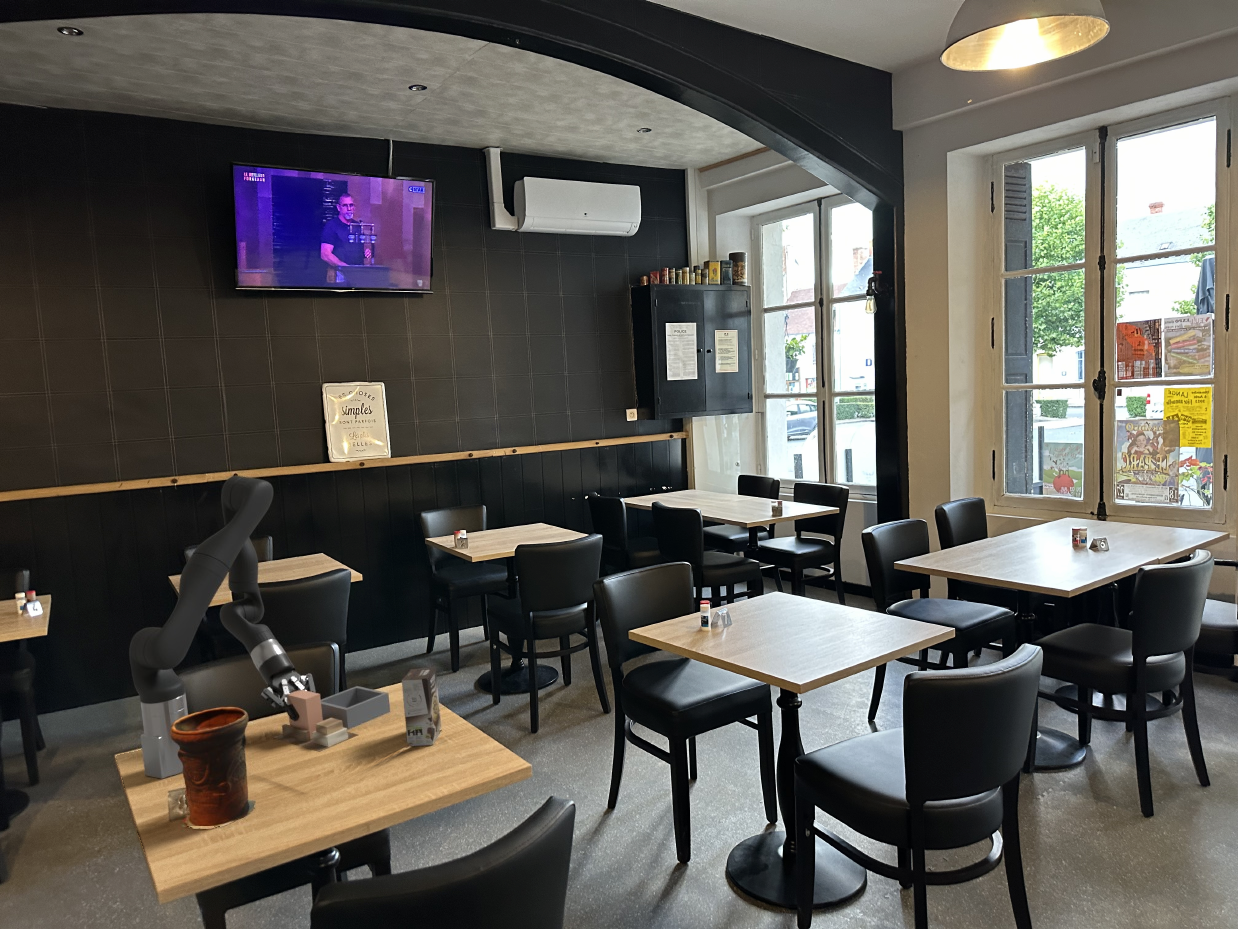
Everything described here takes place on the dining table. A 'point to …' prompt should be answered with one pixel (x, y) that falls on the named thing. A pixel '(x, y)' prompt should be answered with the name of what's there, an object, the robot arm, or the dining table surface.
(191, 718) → the vessel
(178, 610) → the robot arm
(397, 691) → the dining table surface
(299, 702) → the salmon pink block
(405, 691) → the coffee box
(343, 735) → the block
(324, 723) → the upper offcut
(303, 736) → the walnut rack
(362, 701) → the charcoal bin
